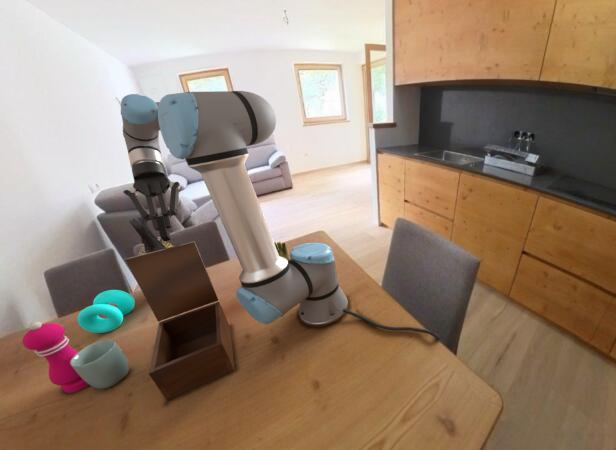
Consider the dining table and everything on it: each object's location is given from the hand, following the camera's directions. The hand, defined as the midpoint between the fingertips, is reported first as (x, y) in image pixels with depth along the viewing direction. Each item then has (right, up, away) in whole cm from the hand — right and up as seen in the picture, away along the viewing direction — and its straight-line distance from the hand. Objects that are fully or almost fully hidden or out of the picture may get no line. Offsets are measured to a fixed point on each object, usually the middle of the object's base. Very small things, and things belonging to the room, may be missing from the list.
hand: (166, 239), depth 76 cm
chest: (+11, -32, -2) cm, 34 cm away
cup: (-8, -36, -6) cm, 37 cm away
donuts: (-26, -28, +12) cm, 40 cm away
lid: (+6, -11, -3) cm, 13 cm away
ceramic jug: (-19, -20, +27) cm, 38 cm away
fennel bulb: (+4, -24, +6) cm, 26 cm away
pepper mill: (-16, -36, -6) cm, 40 cm away
